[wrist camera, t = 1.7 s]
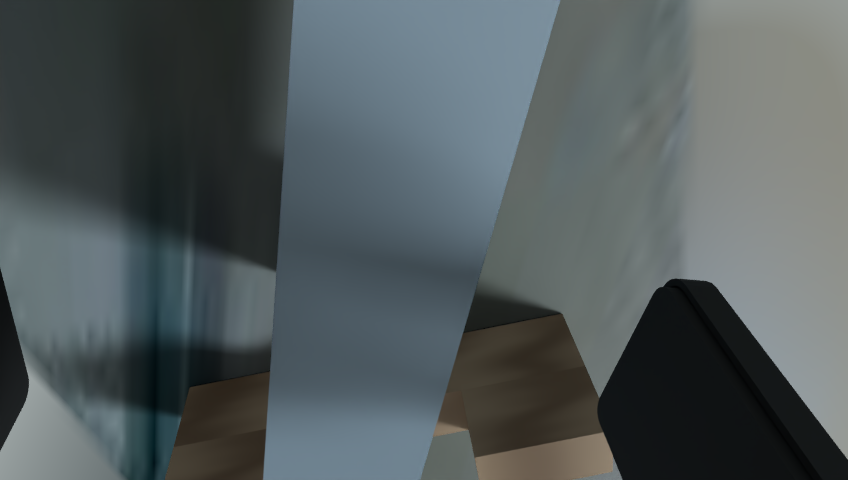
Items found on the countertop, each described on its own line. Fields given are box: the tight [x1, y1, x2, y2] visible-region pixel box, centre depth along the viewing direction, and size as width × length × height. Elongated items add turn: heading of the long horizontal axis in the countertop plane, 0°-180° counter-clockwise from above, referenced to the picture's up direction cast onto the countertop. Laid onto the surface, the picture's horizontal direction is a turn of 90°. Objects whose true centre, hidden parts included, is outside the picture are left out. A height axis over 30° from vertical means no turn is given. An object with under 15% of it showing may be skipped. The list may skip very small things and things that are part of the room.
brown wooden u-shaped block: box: [165, 314, 613, 480], centre depth 24 cm, size 16×2×6 cm, turn 99°
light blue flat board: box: [263, 0, 560, 480], centre depth 14 cm, size 16×2×13 cm, turn 169°
